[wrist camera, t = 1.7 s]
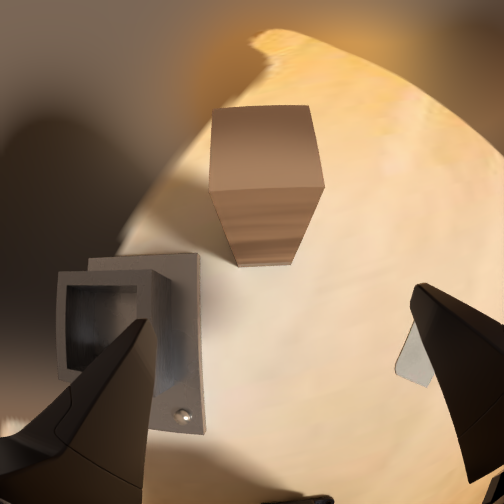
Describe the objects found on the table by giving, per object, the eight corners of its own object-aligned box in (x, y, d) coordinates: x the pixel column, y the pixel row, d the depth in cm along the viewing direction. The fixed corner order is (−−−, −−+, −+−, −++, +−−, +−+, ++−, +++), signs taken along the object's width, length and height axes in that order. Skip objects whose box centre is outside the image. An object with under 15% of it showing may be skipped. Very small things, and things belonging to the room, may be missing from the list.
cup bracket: (206, 430, 18) (191, 456, 13) (98, 414, 18) (65, 428, 13) (200, 256, 22) (183, 236, 17) (94, 260, 22) (61, 245, 17)
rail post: (290, 264, 21) (325, 186, 9) (238, 267, 21) (208, 191, 9) (286, 216, 22) (308, 105, 10) (237, 218, 22) (212, 108, 10)
